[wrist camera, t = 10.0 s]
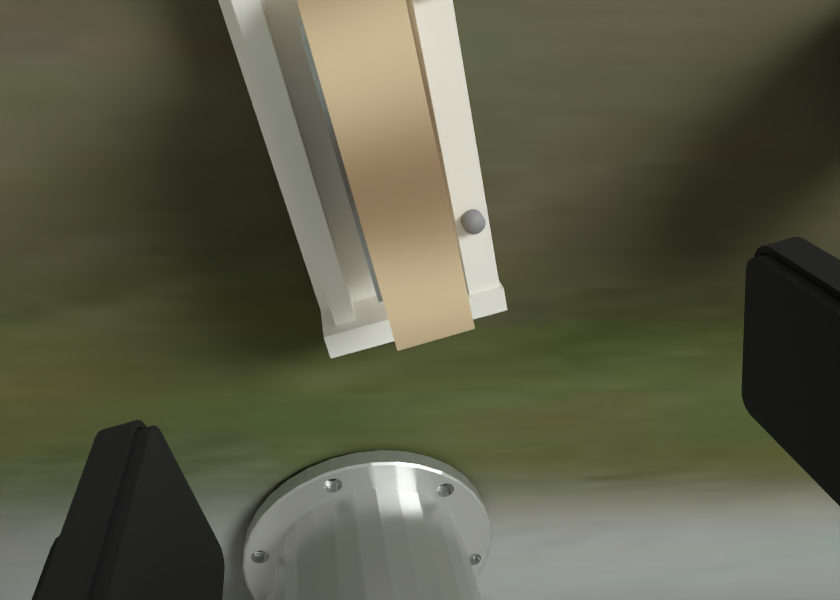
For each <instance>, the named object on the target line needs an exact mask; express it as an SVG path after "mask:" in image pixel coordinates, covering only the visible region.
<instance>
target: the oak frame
mask: <svg viewBox="0 0 840 600" xmlns="http://www.w3.org/2000/svg"><path fill="white" fill-rule="evenodd" d="M297 3H298V7H299V10H300V14H301V17H299V18H298V21H299V26H300V31H301V36H302V41H303V46H304V49H305V52H306V56H307V59H308V63H309V66H310V69H311V73H312V76H313V80H314V83H315V87H316V90H317V93H318V97H319V100H320V104H321V107H322V111H323V114H324V117H325V121H326V124H327V128H328V131H329V134H330V138H331V141H332V145H333V148H334V152H335V155H336V158H337V162H338V165H339V169H340V172H341V175H342V179H343V182H344V186H345V189H346V193H347V196H348V199H349V203H350V206H351V210H352V213H353V216H354V220H355V223H356V227H357V230H358V234H359V237H360V240H361V244H362V247H363V251H364V254H365V258H366V261H367V264H368V268H369V271H370V275H371V278H372V281H373V285H374V288H375V292H376V295H377V299H378V302H382V301H383V302H384V306H385V309H386V312H387V316H388V319H389V323H390V326H391V330H392V333H393V337H394V340H395V344H396V347H397V351H399V350H402V349H406V348H409V347H413V346H416V345H420V344H423V343H427V342H430V341H434V340H437V339H441V338H444V337H448V336H451V335H455V334H458V333H462V332H465V331H469V330H472V329H475V327H474V322H473V317H472V313H471V308H470V303H469V298H468V294H467V289H466V284H465V279H464V275H463V270H462V265H461V261H460V256H459V251H458V246H457V242H456V237H455V232H454V227H453V223H452V218H451V213H450V208H449V204H448V199H447V194H446V189H445V185H444V180H443V175H442V170H441V166H440V161H439V156H438V151H437V147H436V142H435V137H434V132H433V128H432V123H431V118H430V113H429V109H428V104H427V99H426V94H425V90H424V85H423V80H422V75H421V71H420V66H419V61H418V56H417V52H416V47H415V42H414V38H413V33H412V28H411V23H410V19H409V14H408V9H407V4H406V0H297Z"/></svg>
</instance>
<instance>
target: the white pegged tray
mask: <svg viewBox="0 0 840 600" xmlns="http://www.w3.org/2000/svg"><path fill="white" fill-rule="evenodd" d="M218 1H219V4H220V7H221V10H222V13H223V16H224V19H225V22H226V25H227V28H228V31H229V34H230V37H231V40H232V44H233V47H234V50H235V53H236V56H237V59H238V62H239V65H240V68H241V71H242V74H243V77H244V80H245V83H246V86H247V89H248V92H249V95H250V98H251V101H252V104H253V107H254V110H255V113H256V116H257V119H258V122H259V125H260V128H261V131H262V134H263V137H264V140H265V143H266V147H267V150H268V153H269V156H270V159H271V162H272V165H273V168H274V171H275V174H276V177H277V180H278V183H279V186H280V189H281V192H282V195H283V198H284V201H285V204H286V207H287V210H288V213H289V216H290V219H291V222H292V225H293V228H294V231H295V234H296V237H297V240H298V243H299V246H300V249H301V253H302V256H303V259H304V262H305V265H306V268H307V271H308V274H309V277H310V280H311V283H312V286H313V289H314V292H315V295H316V298H317V301H318V304H319V307H320V310H321V318H322V327H323V336H324V340H325V343H326V346H327V349H328V352H329V355H330V358H335V357H338V356H342V355H345V354H349V353H353V352H356V351H360V350H364V349H367V348H371V347H375V346H378V345H382V344H386V343H389V342H393V341H395V340H394V337H393V333H392V330H391V326H390V323H389V319H388V316H387V312H386V309H385V306H384V302H383V301H382V302H378V299H377V295H376V292H375V288H374V285H373V281H372V278H371V275H370V271H369V268H368V264H367V261H366V258H365V254H364V251H363V247H362V244H361V240H360V237H359V234H358V230H357V227H356V223H355V220H354V216H353V213H352V210H351V206H350V203H349V199H348V196H347V193H346V189H345V186H344V182H343V179H342V175H341V172H340V169H339V165H338V162H337V158H336V155H335V152H334V148H333V145H332V141H331V138H330V134H329V131H328V128H327V124H326V121H325V117H324V114H323V111H322V107H321V104H320V100H319V97H318V93H317V90H316V87H315V83H314V80H313V76H312V73H311V69H310V66H309V63H308V59H307V56H306V52H305V49H304V46H303V41H302V36H301V31H300V26H299V21H298V18H299V17H301V14H300V10H299V7H298V3H297V0H218ZM406 4H407V9H408V14H409V19H410V23H411V28H412V33H413V38H414V42H415V47H416V52H417V56H418V61H419V66H420V71H421V75H422V80H423V85H424V90H425V94H426V99H427V104H428V109H429V113H430V118H431V123H432V128H433V132H434V137H435V142H436V147H437V151H438V156H439V161H440V166H441V170H442V175H443V180H444V185H445V189H446V194H447V199H448V204H449V208H450V213H451V218H452V223H453V227H454V232H455V237H456V242H457V246H458V251H459V256H460V261H461V265H462V270H463V275H464V279H465V284H466V289H467V294H468V298H469V303H470V308H471V313H472V317H473V319H476V318H480V317H484V316H487V315H491V314H495V313H498V312H502V311H506V310H507V306H506V300H505V293H504V288H503V286H502V285H501V283H500V281H499V279H498V273H497V267H496V261H495V255H494V249H493V243H492V237H491V231H490V225H489V219H488V213H487V207H486V201H485V195H484V189H483V183H482V176H481V170H480V164H479V158H478V152H477V146H476V140H475V134H474V128H473V122H472V116H471V110H470V104H469V98H468V92H467V86H466V79H465V73H464V67H463V61H462V55H461V49H460V43H459V37H458V31H457V25H456V19H455V13H454V7H453V1H452V0H406Z"/></svg>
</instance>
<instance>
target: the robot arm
mask: <svg viewBox="0 0 840 600" xmlns="http://www.w3.org/2000/svg"><path fill="white" fill-rule="evenodd" d="M742 398H743V402H744V405H745V407H746V409H747V411H748V412H749V414H750V415H751V416H752V417H753V418H754V419H755V420H756V421H757V422H758V423H759V424H760V425H761V426H762V427H763V428H764V429H765V430H766V431H767V432H768V433H769V434H770V435H771V436H772V437H773V438H774V440H775V441H776V442H777V443H778V444H779V445H780V446H781V447H782V448H783V449H784V450H785V451H786V452H787V453H788V454H789V455H790V456H791V457H792V458H793V459H794V460H795V461H796V462H797V463H798V464H799V465H800V466H801V467H802V468H803V469H804V470H805V471H806V472H807V473H808V474H809V475H810V476H811V477H812V478H813V479H814V480H815V481H816V482H817V483H818V484H819V485H820V486H821V487H822V488H823V489H824V491H825V492H826V493H827V494H828V495H829V496H830V497H831V498H832V499H833V500H834V501H835V502H836V503H837V504H838V505H839V506H840V260H839V259H837V258H835V257H834V256H832V255H830V254H829V253H827V252H825V251H823V250H822V249H820V248H818V247H817V246H815V245H813V244H811V243H810V242H808V241H806V240H805V239H802V238H800V237H793V238H789V239H786V240H782V241H778V242H775V243H771V244H768V245H764V246H761V247H760V248H758V249H757V251H756V253H755V255H754V258H752V259H750V260H749V261H748V263H747V266H746V285H745V313H744V341H743V369H742ZM490 543H491V527H490V520H489V517H488V514H487V511H486V508H485V505H484V502H483V500H482V499H481V497H480V495H479V493H478V491H477V489H476V488H475V487H474V485H473V484H472V483H471V482H470V481H469V480H468V479H467V478H466V477H465V476H464V475H463V474H461V473H460V472H459V471H457V470H456V469H454V468H453V467H451V466H450V465H448V464H446V463H443V462H441V461H439V460H436V459H434V458H431V457H429V456H425V455H420V454H415V453H411V452H406V451H388V450H378V451H367V452H357V453H352V454H348V455H344V456H340V457H336V458H332V459H329V460H327V461H324V462H322V463H319V464H317V465H314V466H312V467H309V468H307V469H306V470H304V471H302V472H300V473H299V474H297V475H295V476H294V477H292V478H290V479H289V480H287V481H286V482H285V483H283V484H282V485H281V486H280V487H279V488H277V489H276V490H275V491H274V492H273V493H272V494H270V495H269V496H268V498H267V499H266V500H265V501H264V503H263V504H262V505H261V506H260V508H259V509H258V510H257V511H256V513H255V515H254V517H253V519H252V521H251V523H250V525H249V527H248V529H247V533H246V538H245V542H244V548H243V572H244V577H245V582H246V585H247V587H248V589H249V591H250V593H251V595H252V597H253V599H254V600H481V597H480V594H479V590H478V587H477V584H476V580H475V578H476V577H477V576H478V574H479V573H480V571H481V570H482V568H483V565H484V563H485V561H486V558H487V556H488V553H489V548H490ZM223 581H224V558H223V553H222V550H221V547H220V545H219V543H218V541H217V539H216V537H215V535H214V533H213V531H212V529H211V527H210V525H209V523H208V521H207V519H206V517H205V515H204V514H203V512H202V510H201V508H200V506H199V504H198V502H197V500H196V498H195V496H194V494H193V492H192V490H191V488H190V487H189V485H188V483H187V481H186V479H185V477H184V475H183V473H182V471H181V469H180V467H179V465H178V463H177V461H176V459H175V458H174V456H173V454H172V452H171V450H170V448H169V446H168V444H167V442H166V440H165V438H164V436H163V434H162V433H161V431H160V429H159V428H158V427H157V426H150V427H146V425H145V424H144V423H143V422H142V421H140V420H136V421H132V422H129V423H125V424H121V425H118V426H114V427H111V428H107V429H103V430H101V431H99V432H98V433H97V435H96V437H95V440H94V443H93V445H92V448H91V451H90V454H89V456H88V459H87V462H86V465H85V468H84V470H83V473H82V476H81V479H80V481H79V484H78V487H77V490H76V492H75V495H74V498H73V501H72V503H71V506H70V509H69V512H68V514H67V517H66V520H65V523H64V526H63V528H62V531H61V534H60V536H59V537H57V538H56V539H55V541H54V543H53V545H52V547H51V549H50V552H49V554H48V557H47V560H46V562H45V565H44V568H43V571H42V573H41V576H40V579H39V581H38V584H37V587H36V590H35V592H34V595H33V598H32V600H222V593H223Z"/></svg>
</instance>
